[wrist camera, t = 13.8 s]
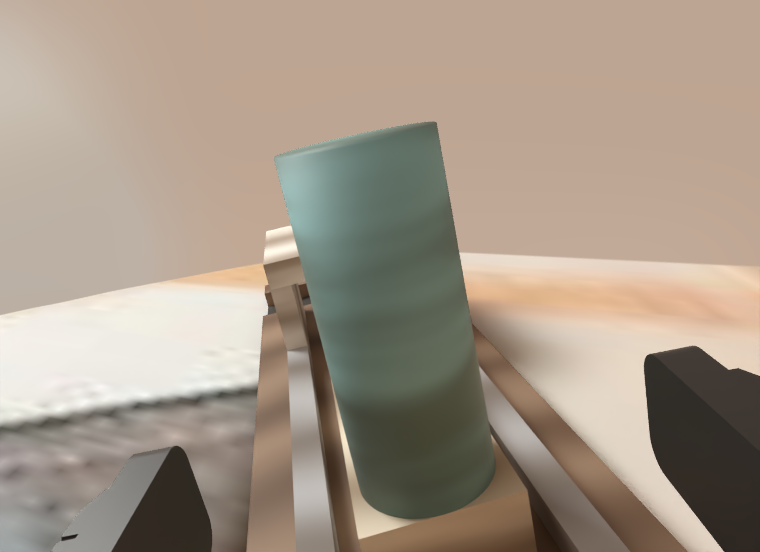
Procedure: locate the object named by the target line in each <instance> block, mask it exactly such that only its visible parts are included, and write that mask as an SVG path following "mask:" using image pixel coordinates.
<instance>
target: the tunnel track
mask: <svg viewBox="0 0 760 552" xmlns="http://www.w3.org/2000/svg"><path fill="white" fill-rule="evenodd" d="M263 266H264V269H265V273H266V276H267V280H268V284H269V285H266V286H265V296H266V300H267V303H268V315H266V316H263V325H262V340H261V354H260V368H259V382H258V397H257V411H256V425H255V439H254V454H253V468H252V482H251V496H250V510H249V525H248V539H247V552H362V551H361V547H360V543H359V540H358V534H357V528H356V522H355V516H354V510H353V505H352V499H351V493H350V487H349V481H348V476H347V470H346V464H345V458H344V452H343V446H342V441H341V435H340V429H339V423H338V417H337V412H336V406H335V400H334V394H333V388H332V382H331V377H330V373H329V369H328V365H327V362H326V358H325V354H324V350H323V346H322V342H321V338H320V335H319V331H318V327H317V323H316V319H315V315H314V311H313V308H312V304H311V300H310V296H309V292H308V288H307V284H306V281H305V277H304V273H303V269H302V265H301V261H300V257H299V254H298V250H297V246H296V242H295V238H294V234H293V230H292V227H291V226H287V227H283V228H279V229H275V230H270V231H267V232H266V242H265V252H264V263H263ZM471 324H472V323H471ZM472 329H473V335H474V341H475V347H476V352H477V358H478V364H479V370H480V375H481V381H482V387H483V393H484V398H485V404H486V410H487V415H488V421H489V427H490V433H491V435H492V436H493V438H494V439H495V441H496V442H497V444H498V446H499V447H500V449H501V450H502V452H503V453H504V455H505V456H506V458H507V460H508V461H509V463H510V464H511V466H512V467H513V469H514V470H515V472H516V473H517V475H518V477H519V478H520V480H521V481H522V483H523V484H524V486H525V487H526V489H527V490H528V497H529V503H530V509H531V516H532V522H533V528H534V535H535V541H536V547H537V552H687V551H686V549H685V548H684V547H683V546H682V545H681V544H680V543H679V542H678V541H677V540H676V539H675V538H674V537H673V536H672V535H671V534H670V533H669V532H668V530H667V529H666V528H665V527H664V526H663V525H662V524H661V523H660V522H659V521H658V520H657V519H656V518H655V517H654V516H653V515H652V514H651V513H650V511H649V510H648V509H647V508H646V507H645V506H644V505H643V504H642V503H641V502H640V501H639V500H638V499H637V498H636V497H635V496H634V495H633V493H632V492H631V491H630V490H629V489H628V488H627V487H626V486H625V485H624V484H623V483H622V482H621V481H620V480H619V479H618V478H617V477H616V476H615V474H614V473H613V472H612V471H611V470H610V469H609V468H608V467H607V466H606V465H605V464H604V463H603V462H602V461H601V460H600V459H599V458H598V457H597V455H596V454H595V453H594V452H593V451H592V450H591V449H590V448H589V447H588V446H587V445H586V444H585V443H584V442H583V441H582V440H581V439H580V437H579V436H578V435H577V434H576V433H575V432H574V431H573V430H572V429H571V428H570V427H569V426H568V425H567V424H566V423H565V422H564V421H563V420H562V418H561V417H560V416H559V415H558V414H557V413H556V412H555V411H554V410H553V409H552V408H551V407H550V406H549V405H548V404H547V403H546V402H545V401H544V399H543V398H542V397H541V396H540V395H539V394H538V393H537V392H536V391H535V390H534V389H533V388H532V387H531V386H530V385H529V384H528V383H527V381H526V380H525V379H524V378H523V377H522V376H521V375H520V374H519V373H518V372H517V371H516V370H515V369H514V368H513V367H512V366H511V365H510V364H509V362H508V361H507V360H506V359H505V358H504V357H503V356H502V355H501V354H500V353H499V352H498V351H497V350H496V349H495V348H494V347H493V346H492V345H491V343H490V342H489V341H488V340H487V339H486V338H485V337H484V336H483V335H482V334H481V333H480V332H479V331H478V330H477V329H476V328H475V327H474V325H473V324H472Z"/></svg>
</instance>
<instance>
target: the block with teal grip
mask: <svg viewBox="0 0 760 552" xmlns="http://www.w3.org/2000/svg"><path fill="white" fill-rule="evenodd" d="M274 161H275V165H276V168H277V172H278V176H279V180H280V184H281V188H282V192H283V195H284V200H285V203H286V207H287V211H288V215H289V219H290V223H291V227H292V230H293V234H294V238H295V242H296V246H297V250H298V254H299V257H300V261H301V265H302V269H303V273H304V277H305V281H306V284H307V288H308V292H309V296H310V300H311V304H312V308H313V311H314V315H315V319H316V323H317V327H318V331H319V335H320V338H321V342H322V346H323V350H324V354H325V358H326V362H327V365H328V369H329V373H330V377H331V382H332V388H333V394H334V400H335V406H336V412H337V417H338V423H339V429H340V435H341V441H342V446H343V452H344V458H345V464H346V470H347V476H348V481H349V487H350V493H351V499H352V505H353V510H354V516H355V522H356V528H357V534H358V540H359V543H360V547H361V551H362V552H537V547H536V541H535V535H534V528H533V522H532V516H531V509H530V503H529V497H528V490H527V489H526V487H525V486H524V484H523V483H522V481H521V480H520V478H519V477H518V475H517V473H516V472H515V470H514V469H513V467H512V466H511V464H510V463H509V461H508V460H507V458H506V456H505V455H504V453H503V452H502V450H501V449H500V447H499V446H498V444H497V442H496V441H495V439H494V438H493V436H492V435H491V433H490V427H489V421H488V415H487V410H486V404H485V398H484V393H483V387H482V381H481V375H480V370H479V364H478V358H477V352H476V347H475V341H474V335H473V329H472V324H471V318H470V312H469V306H468V301H467V295H466V289H465V283H464V278H463V272H462V266H461V260H460V255H459V250H458V244H457V238H456V232H455V226H454V221H453V215H452V209H451V203H450V197H449V192H448V186H447V180H446V175H445V169H444V163H443V157H442V152H441V146H440V140H439V134H438V128H437V123H436V122H424V123H416V124H409V125H403V126H397V127H391V128H386V129H381V130H376V131H371V132H367V133H361V134H357V135H352V136H347V137H343V138H339V139H334V140H330V141H326V142H322V143H318V144H314V145H310V146H307V147H303V148H300V149H296V150H292V151H289V152H286V153H283V154H280V155H277V156H275V157H274Z"/></svg>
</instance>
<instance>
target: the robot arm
mask: <svg viewBox="0 0 760 552" xmlns="http://www.w3.org/2000/svg"><path fill="white" fill-rule="evenodd" d="M644 374H645V386H646V397H647V408H648V420H649V431H650V439H651V444H652V448H653V451H654V454H655V457H656V459H657V462H658V464H659V466H660V468H661V470H662V471H663V473H664V474H665V476H666V477H667V479H668V480H669V481H670V482H671V484H672V485H673V486H674V488H675V489H676V490H677V491H678V493H679V494H680V495H681V497H682V498H683V499H684V500H685V502H686V503H687V504H688V506H689V507H690V508H691V509H692V511H693V512H694V513H695V515H696V516H697V517H698V518H699V520H700V521H701V522H702V524H703V525H704V526H705V527H706V529H707V530H708V531H709V533H710V534H711V535H712V536H713V538H714V539H715V540H716V542H717V543H718V544H719V546H720V547H721V548H722V549H723V551H724V552H760V376H758V375H755V374H752V373H750V372H747V371H744V370H741V369H739V368H737V369H732V370H728V369H727V368H725V367H724V366H723V365H721V364H720V363H719V362H717V361H716V360H715V359H713V358H712V357H711V356H710V355H708V354H707V353H706V352H704V351H703V350H702V349H700V348H699V347H697V346H689V347H684V348H679V349H674V350H669V351H664V352H658V353H653V354H649V355H647V356H646V358H645V362H644ZM61 538H62V541H61V542H57V544H56V545H55V547H54V548H53V549H52V551H51V552H211V548H212V529H211V523H210V519H209V516H208V513H207V510H206V508H205V505H204V502H203V499H202V496H201V494H200V491H199V488H198V485H197V482H196V480H195V477H194V474H193V471H192V469H191V466H190V463H189V460H188V458H187V455H186V453H185V452H184V450H183V449H182V448H181V447H179V446H173V447H168V448H163V449H158V450H152V451H147V452H142V453H137V454H134V455H133V456H131V457H130V459H129V460H128V461H127V463H126V464H125V466H124V467H123V469H122V470H121V472H120V473H119V475H118V476H117V478H116V479H115V481H114V482H113V484H112V485H111V487H110V488H109V489H105V490H104V491H103V492H102V493H101V494H99V495H98V496H97V497H96V498H95V499H94V500H93V501H91V502H90V503H89V504H88V505H87V506H86V507H84V508H83V509H82V510H81V511H80V512H79V513H78V514H77V516H76V517H75V519H74V520H73V521H72V523H71V524H70V526H69V527H68V528H67V530H66V531H65V533H64V534H63V535H62V537H61Z"/></svg>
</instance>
